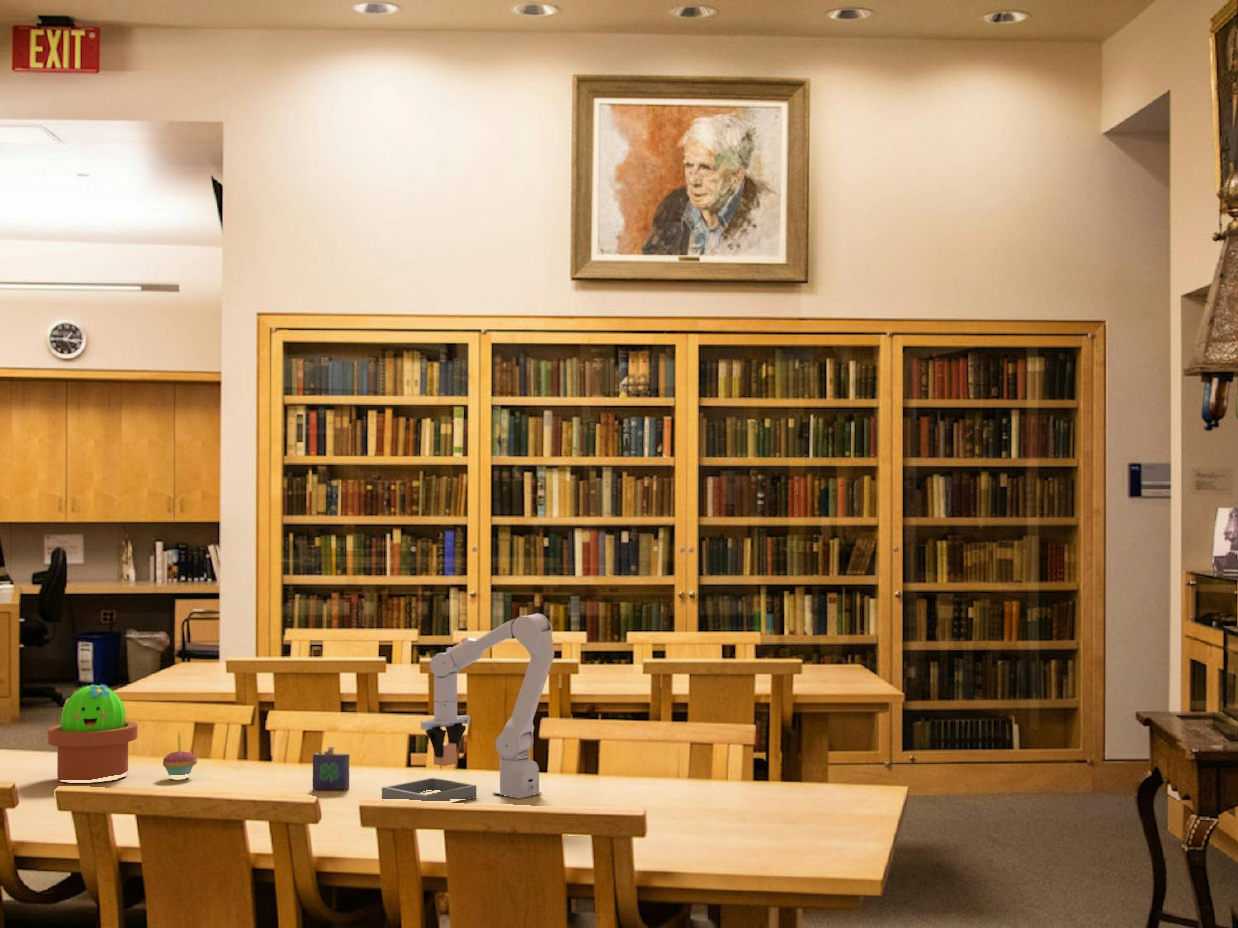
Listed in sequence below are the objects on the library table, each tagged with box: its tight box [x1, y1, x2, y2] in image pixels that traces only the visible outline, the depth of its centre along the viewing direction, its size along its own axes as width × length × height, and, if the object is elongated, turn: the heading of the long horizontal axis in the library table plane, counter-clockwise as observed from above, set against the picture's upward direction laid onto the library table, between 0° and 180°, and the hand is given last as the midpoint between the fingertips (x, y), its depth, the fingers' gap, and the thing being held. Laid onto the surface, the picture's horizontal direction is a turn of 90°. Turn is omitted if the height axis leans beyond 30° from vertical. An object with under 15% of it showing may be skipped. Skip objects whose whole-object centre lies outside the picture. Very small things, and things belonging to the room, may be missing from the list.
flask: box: [312, 746, 350, 792], centre depth 344 cm, size 9×3×11 cm, turn 88°
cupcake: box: [162, 731, 198, 776], centre depth 360 cm, size 9×8×12 cm
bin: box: [381, 777, 477, 801], centre depth 331 cm, size 16×16×3 cm
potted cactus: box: [47, 684, 138, 781], centre depth 362 cm, size 22×22×25 cm
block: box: [433, 741, 458, 767], centre depth 343 cm, size 4×4×5 cm
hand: (446, 755), depth 342 cm, fingers closed on block, 4 cm apart
